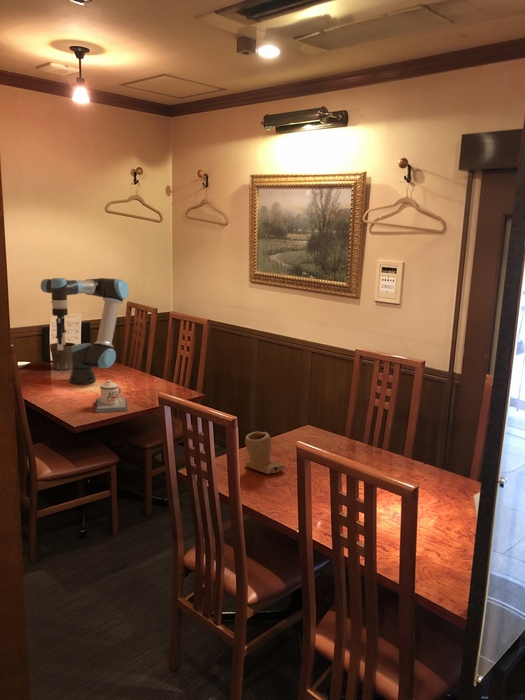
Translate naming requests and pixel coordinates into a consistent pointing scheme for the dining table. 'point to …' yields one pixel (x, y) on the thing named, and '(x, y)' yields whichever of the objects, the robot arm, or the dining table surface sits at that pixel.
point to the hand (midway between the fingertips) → (61, 347)
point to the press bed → (111, 405)
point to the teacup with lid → (109, 392)
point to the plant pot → (61, 356)
